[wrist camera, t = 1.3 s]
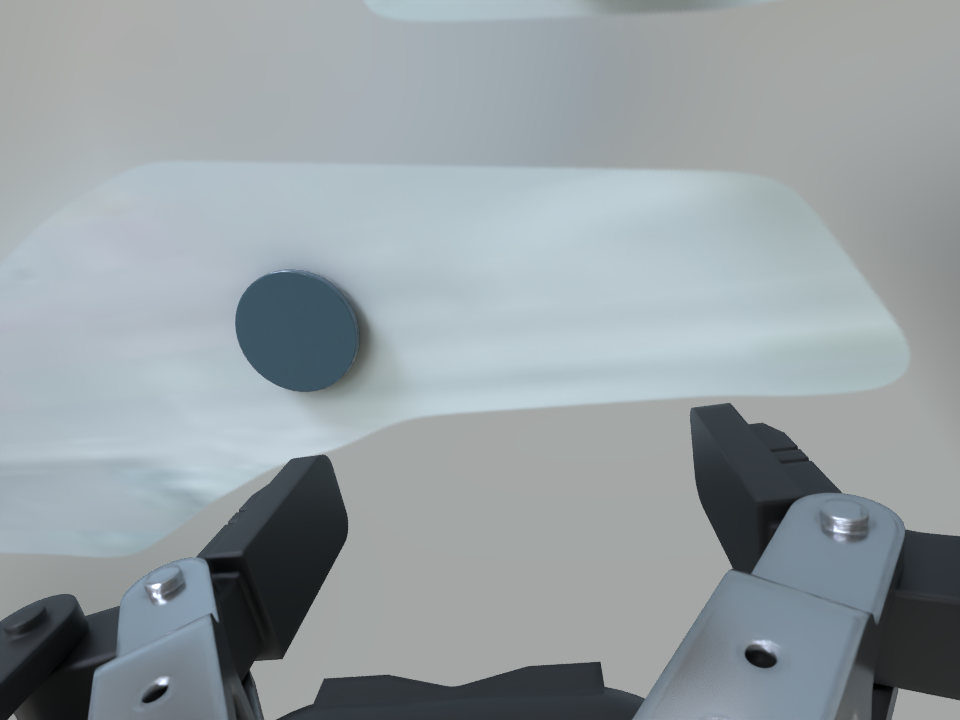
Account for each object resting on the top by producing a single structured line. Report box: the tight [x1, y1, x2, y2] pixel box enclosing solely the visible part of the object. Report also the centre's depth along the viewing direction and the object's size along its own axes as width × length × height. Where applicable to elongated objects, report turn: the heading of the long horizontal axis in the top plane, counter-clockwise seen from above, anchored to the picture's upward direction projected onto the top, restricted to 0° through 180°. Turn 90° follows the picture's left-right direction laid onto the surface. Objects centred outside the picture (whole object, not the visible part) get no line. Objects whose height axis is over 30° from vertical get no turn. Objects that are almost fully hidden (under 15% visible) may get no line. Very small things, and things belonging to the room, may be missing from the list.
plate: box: [235, 269, 359, 392], centre depth 31 cm, size 7×7×1 cm
